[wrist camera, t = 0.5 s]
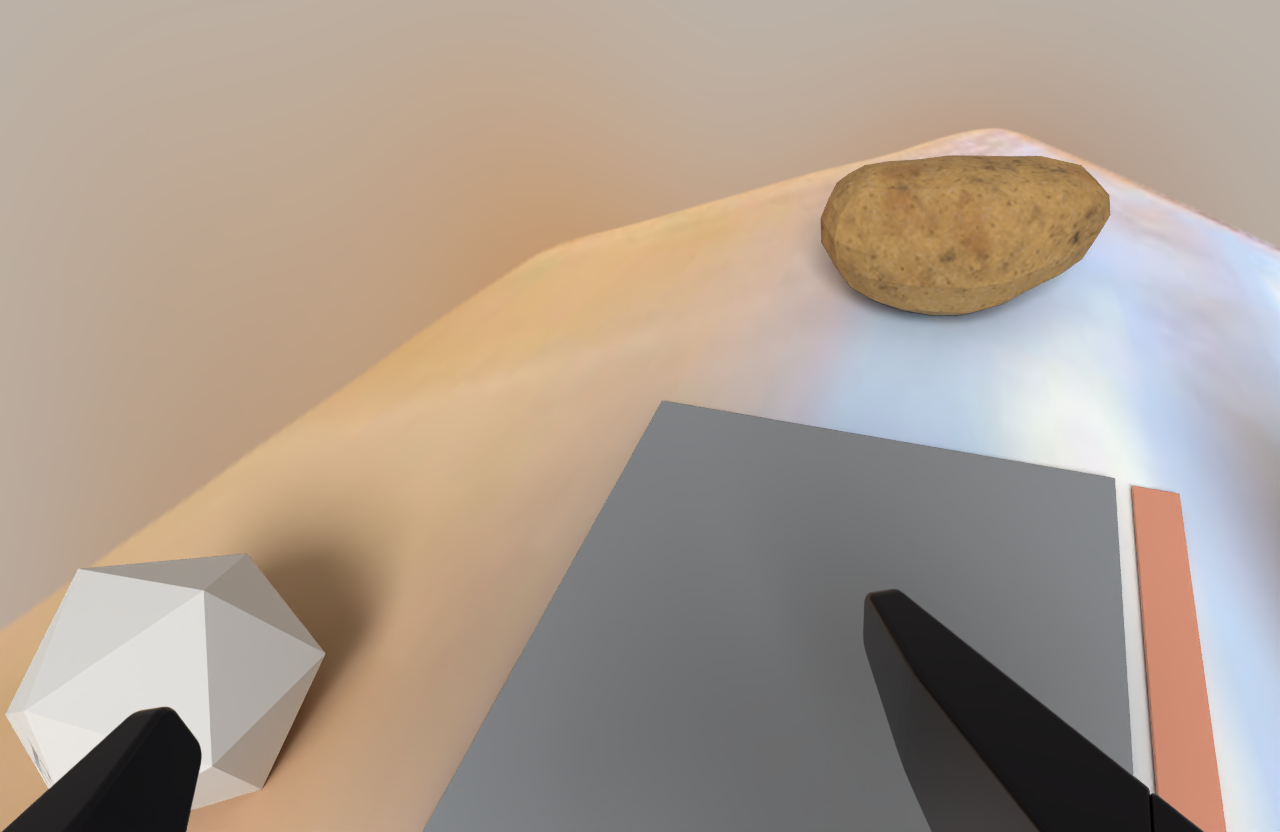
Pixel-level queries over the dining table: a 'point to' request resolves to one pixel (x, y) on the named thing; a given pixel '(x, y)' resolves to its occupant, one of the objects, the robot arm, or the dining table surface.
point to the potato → (960, 229)
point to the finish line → (1175, 663)
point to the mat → (786, 631)
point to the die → (170, 667)
